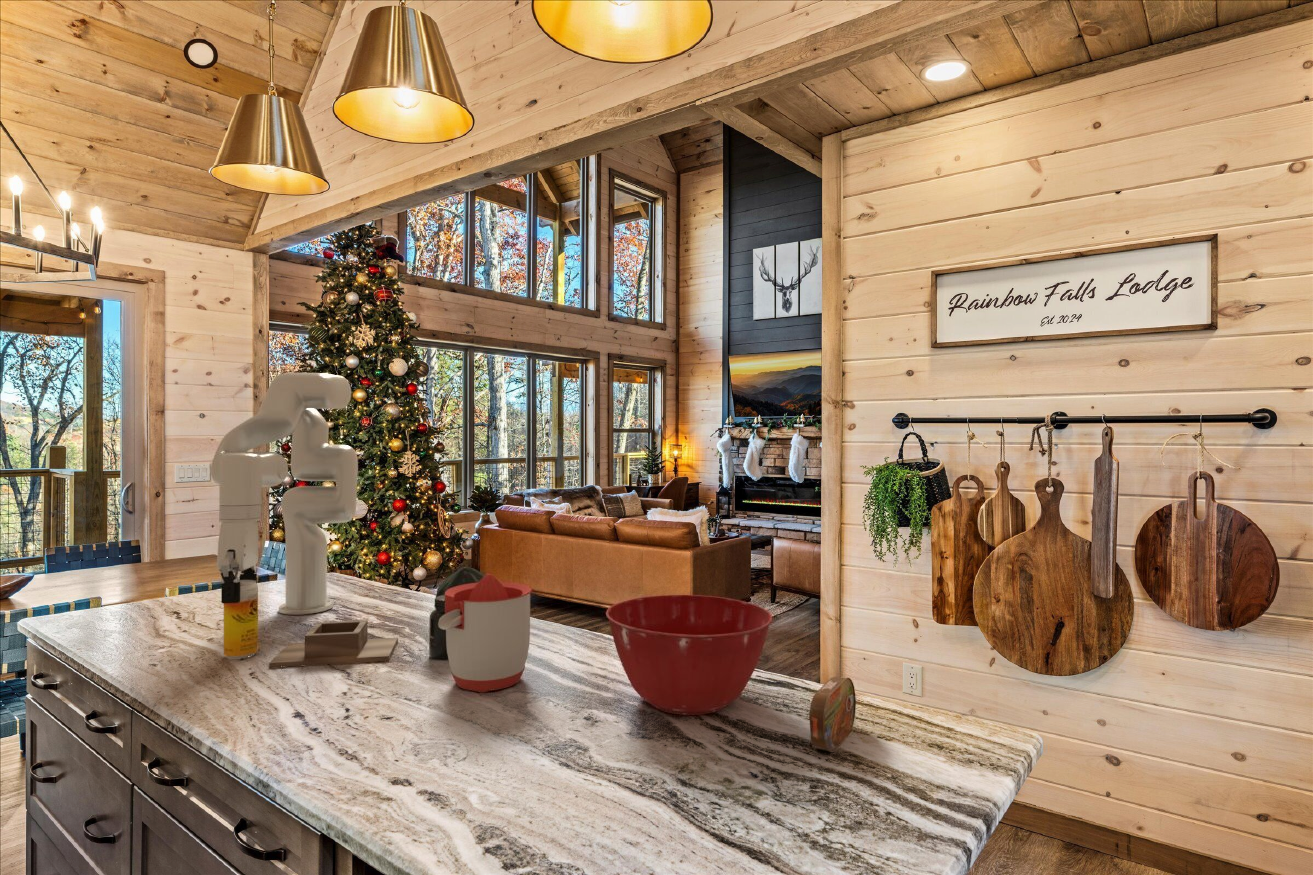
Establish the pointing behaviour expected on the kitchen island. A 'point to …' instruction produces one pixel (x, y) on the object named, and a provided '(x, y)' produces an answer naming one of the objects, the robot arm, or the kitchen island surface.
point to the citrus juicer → (487, 633)
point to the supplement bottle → (437, 631)
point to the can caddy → (336, 646)
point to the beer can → (242, 623)
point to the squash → (460, 579)
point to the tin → (832, 713)
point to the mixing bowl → (688, 649)
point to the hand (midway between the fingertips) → (239, 597)
